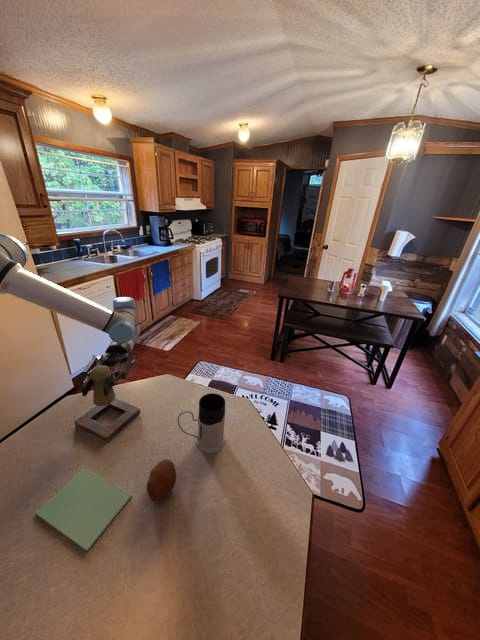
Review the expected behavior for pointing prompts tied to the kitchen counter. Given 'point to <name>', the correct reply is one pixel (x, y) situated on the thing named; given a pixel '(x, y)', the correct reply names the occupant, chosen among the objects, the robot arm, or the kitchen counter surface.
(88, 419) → the frame
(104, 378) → the cork
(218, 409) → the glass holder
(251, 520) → the kitchen counter surface
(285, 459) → the kitchen counter surface
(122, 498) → the mat
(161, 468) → the potato
